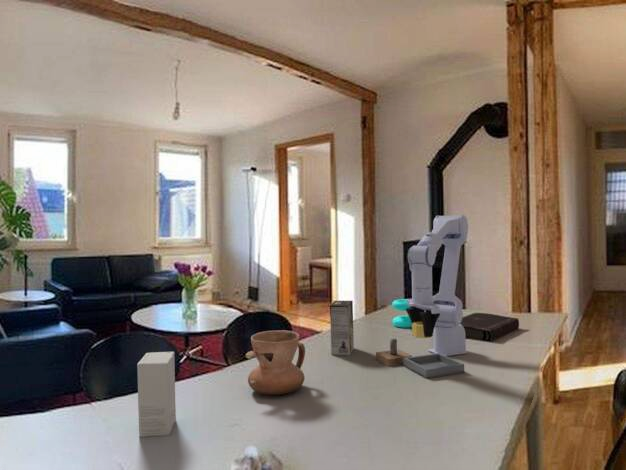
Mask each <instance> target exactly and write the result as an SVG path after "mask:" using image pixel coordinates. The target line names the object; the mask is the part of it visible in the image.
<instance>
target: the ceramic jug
mask: <svg viewBox="0 0 626 470" xmlns="http://www.w3.org/2000/svg"><path fill="white" fill-rule="evenodd" d="M250 342H251V347H252V350H250V351H248V352H247V353H245V358H247V360H249V359H252V358H256V360H257V361H258V363H259V365H257V366H256V367H255V368H253V369H252V370H251V371H250V372H249V374H248V377H247V382H248V386H249V387H250V388H251V389H252V390H253V391H255V392H256V393H258V394H260V395H261V394H263V395H268V396H279V395H284V394H289V393H292V392H294V391H296V390H297V389H299V388H300V387H302V385H303V384H304V382H305V374H304V372H303V370H302V366H303V364H304V361H305V357H306V347H305V344H304V343H303V342H301V341H300V335H299V333H297V332H295V331H293V330H286V329H283V330H279V329H278V330H265V331H261V332H257V333H255V334H253V335H251V337H250ZM297 349H298V356H297V360H296V364H294V363H293V360H294V358H295V356H296V352H297Z"/></svg>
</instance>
